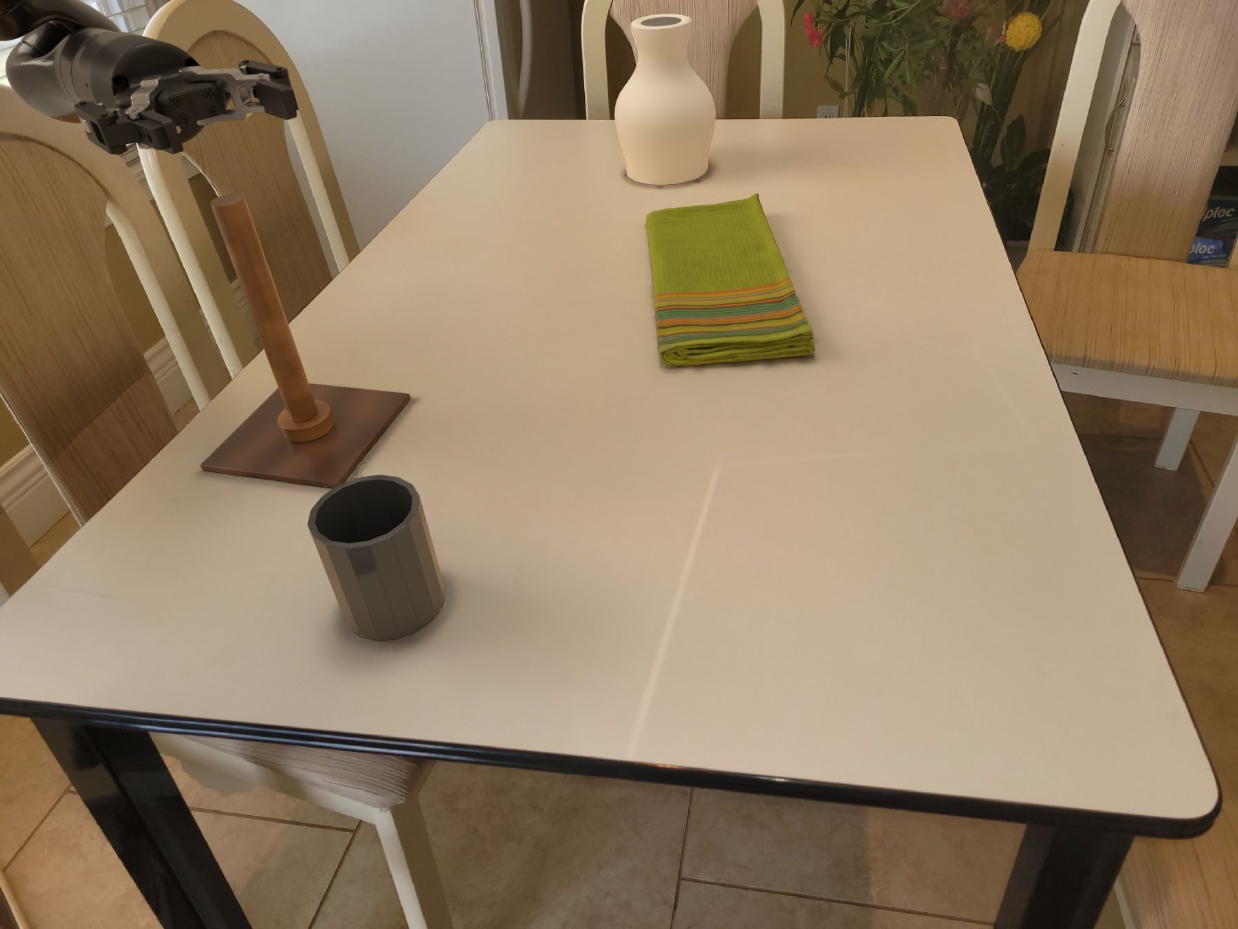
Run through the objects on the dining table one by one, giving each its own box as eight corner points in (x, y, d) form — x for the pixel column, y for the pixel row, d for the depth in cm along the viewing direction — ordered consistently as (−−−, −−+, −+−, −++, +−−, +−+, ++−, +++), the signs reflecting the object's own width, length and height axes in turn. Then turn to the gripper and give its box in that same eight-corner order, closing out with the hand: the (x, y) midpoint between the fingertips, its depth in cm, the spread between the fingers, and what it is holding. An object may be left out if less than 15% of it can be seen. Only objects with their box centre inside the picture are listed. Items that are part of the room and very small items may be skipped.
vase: (696, 146, 137) (694, 2, 124) (730, 177, 126) (731, 23, 113) (607, 161, 134) (595, 16, 122) (633, 194, 123) (623, 39, 111)
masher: (272, 439, 82) (182, 210, 68) (299, 410, 86) (219, 186, 72) (317, 445, 81) (235, 213, 67) (343, 415, 84) (270, 188, 71)
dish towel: (660, 370, 87) (658, 342, 85) (644, 223, 115) (642, 199, 113) (817, 359, 87) (819, 330, 85) (762, 213, 115) (763, 189, 113)
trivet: (201, 470, 80) (199, 465, 80) (287, 385, 90) (285, 380, 90) (338, 489, 76) (336, 483, 76) (411, 398, 87) (409, 393, 86)
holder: (324, 631, 64) (286, 539, 58) (373, 559, 69) (343, 469, 64) (417, 648, 62) (387, 555, 56) (460, 573, 67) (437, 481, 62)
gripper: (23, 57, 65) (107, 89, 55) (208, 16, 72) (310, 38, 63) (69, 160, 69) (154, 206, 60) (239, 111, 77) (338, 145, 67)
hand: (234, 120), depth 61 cm, fingers open, 8 cm apart
